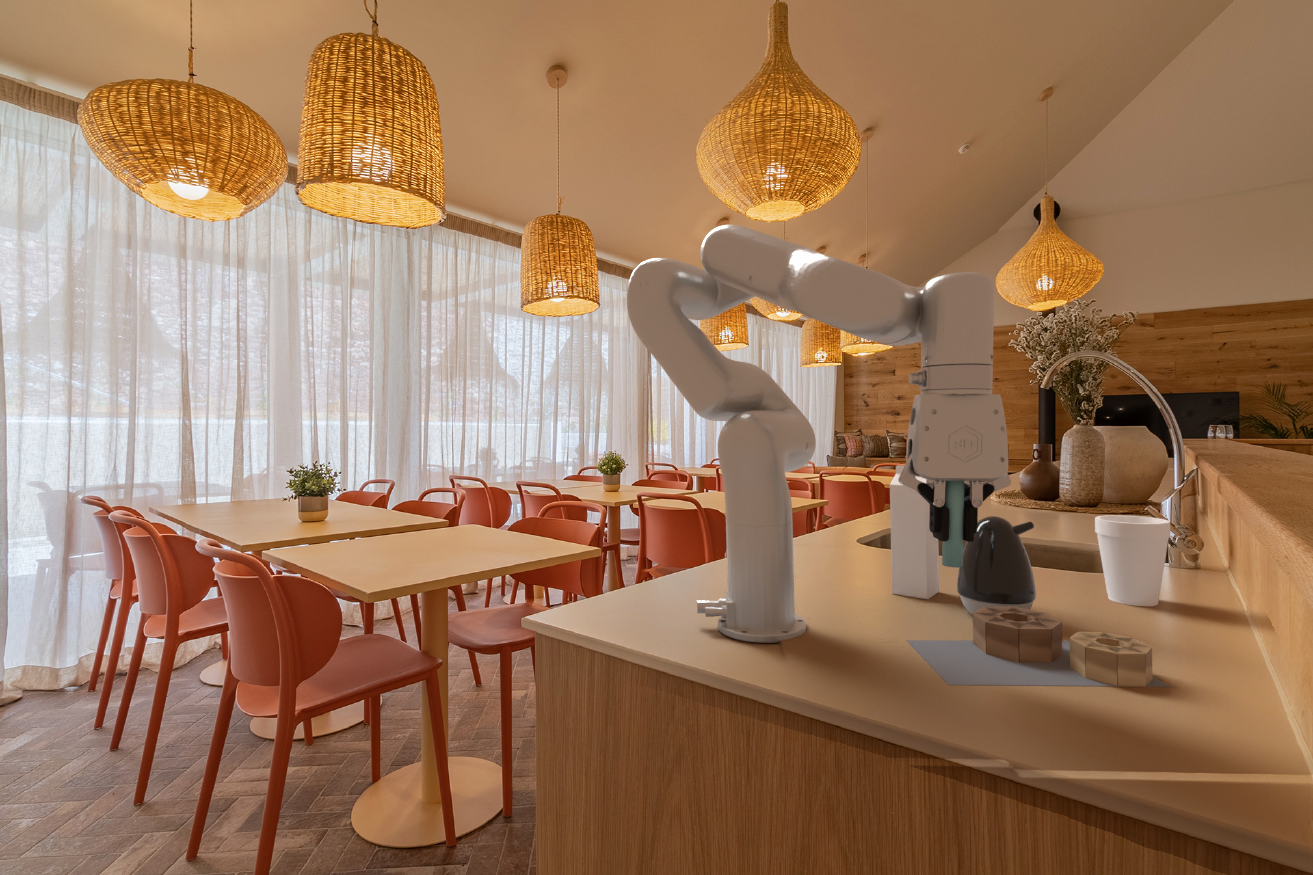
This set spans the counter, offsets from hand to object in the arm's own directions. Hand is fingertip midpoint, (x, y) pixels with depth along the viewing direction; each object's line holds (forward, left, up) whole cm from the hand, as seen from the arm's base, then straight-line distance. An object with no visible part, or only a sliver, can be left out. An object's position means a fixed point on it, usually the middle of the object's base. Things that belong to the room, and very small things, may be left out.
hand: (952, 538), depth 72 cm
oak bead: (+16, -2, -15) cm, 22 cm away
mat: (+9, +2, -16) cm, 18 cm away
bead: (+10, +6, -15) cm, 19 cm away
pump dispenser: (+14, +20, -16) cm, 29 cm away
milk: (+7, +34, -16) cm, 38 cm away
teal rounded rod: (0, 0, -3) cm, 3 cm away
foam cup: (+39, +29, -16) cm, 51 cm away
